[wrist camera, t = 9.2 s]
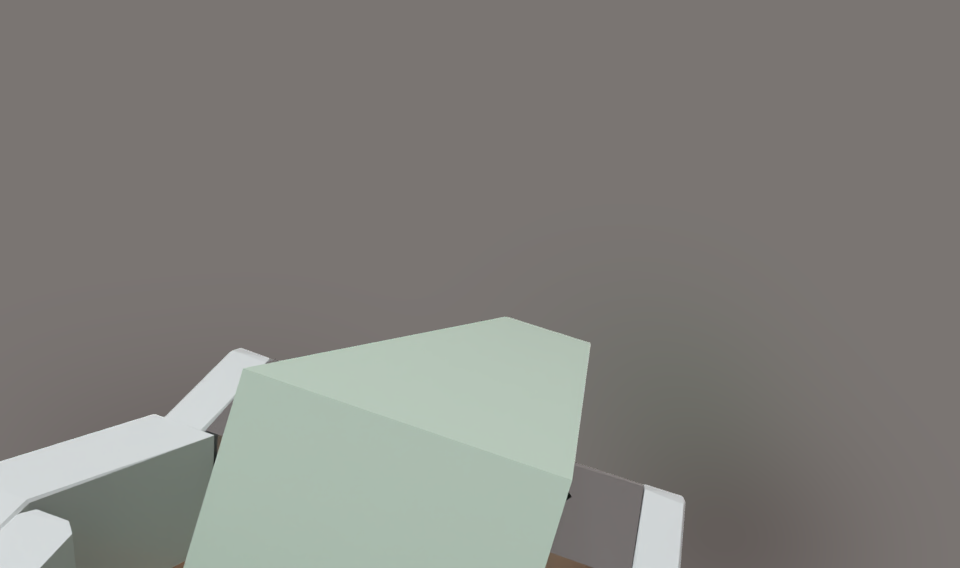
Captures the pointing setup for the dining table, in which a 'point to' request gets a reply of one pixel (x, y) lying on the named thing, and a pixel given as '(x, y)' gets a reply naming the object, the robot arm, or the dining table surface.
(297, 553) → the sage block
